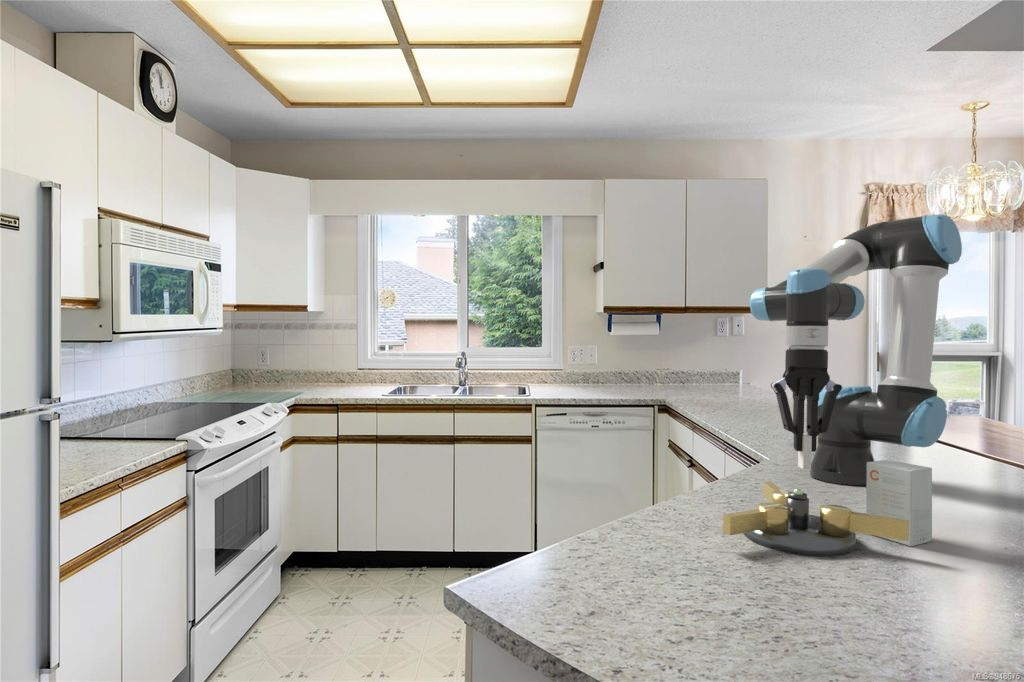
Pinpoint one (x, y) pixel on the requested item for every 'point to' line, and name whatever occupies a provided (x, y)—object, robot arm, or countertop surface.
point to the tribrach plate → (804, 533)
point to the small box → (901, 496)
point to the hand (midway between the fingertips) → (804, 467)
